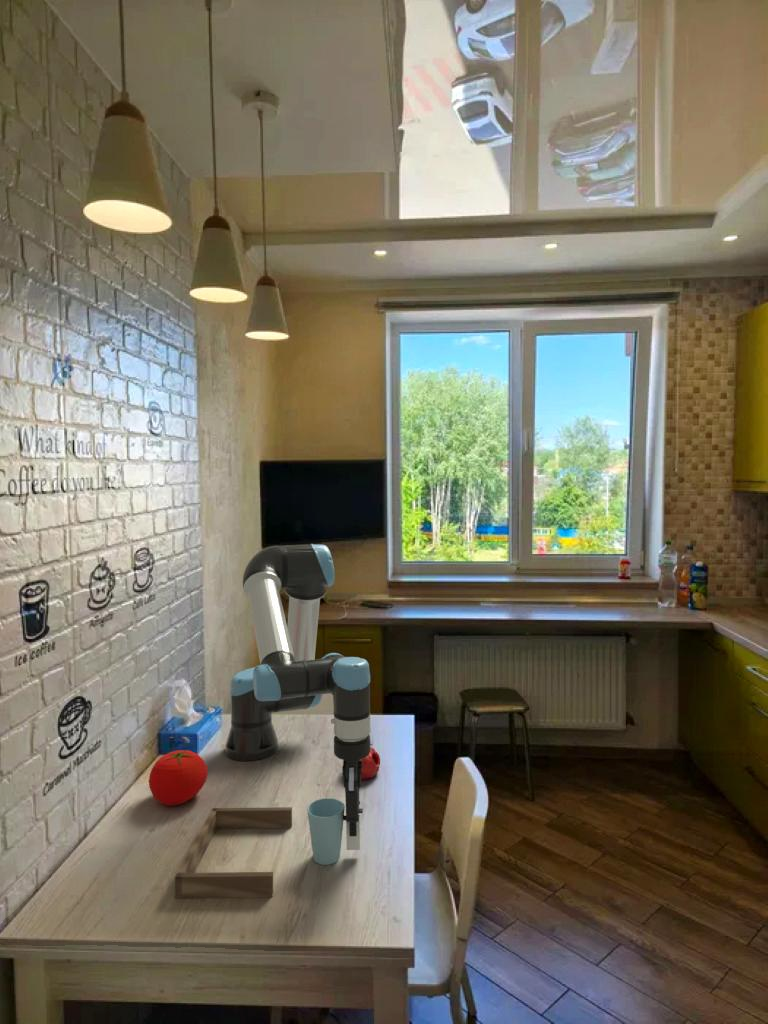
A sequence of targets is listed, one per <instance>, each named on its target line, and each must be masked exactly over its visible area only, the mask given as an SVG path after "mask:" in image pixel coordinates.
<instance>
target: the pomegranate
mask: <svg viewBox="0 0 768 1024" xmlns="http://www.w3.org/2000/svg"><path fill="white" fill-rule="evenodd" d="M371 746H373V743H370V754H369V755H368V756H367V757H366V758H364V759H360V760H362V774H361V780H368V779H371V778H374V777H375V776H376V775H377V774H378V773H379V770H380V765H381V757H380V755H379V753H378V752H377V750H376V749H375V748H374V747H371Z"/></svg>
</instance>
